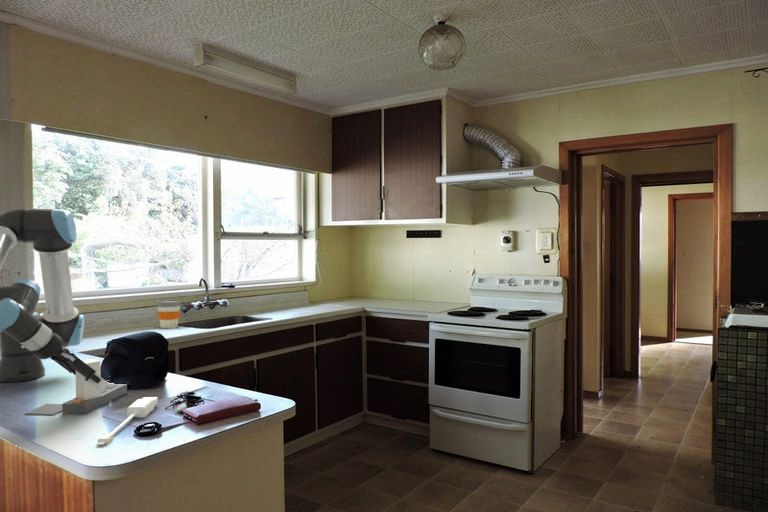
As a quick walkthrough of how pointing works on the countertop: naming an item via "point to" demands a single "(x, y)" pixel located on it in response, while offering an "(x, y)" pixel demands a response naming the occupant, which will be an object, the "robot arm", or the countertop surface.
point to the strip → (94, 400)
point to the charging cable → (136, 409)
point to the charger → (88, 382)
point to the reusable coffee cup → (168, 313)
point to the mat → (46, 410)
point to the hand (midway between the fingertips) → (100, 385)
